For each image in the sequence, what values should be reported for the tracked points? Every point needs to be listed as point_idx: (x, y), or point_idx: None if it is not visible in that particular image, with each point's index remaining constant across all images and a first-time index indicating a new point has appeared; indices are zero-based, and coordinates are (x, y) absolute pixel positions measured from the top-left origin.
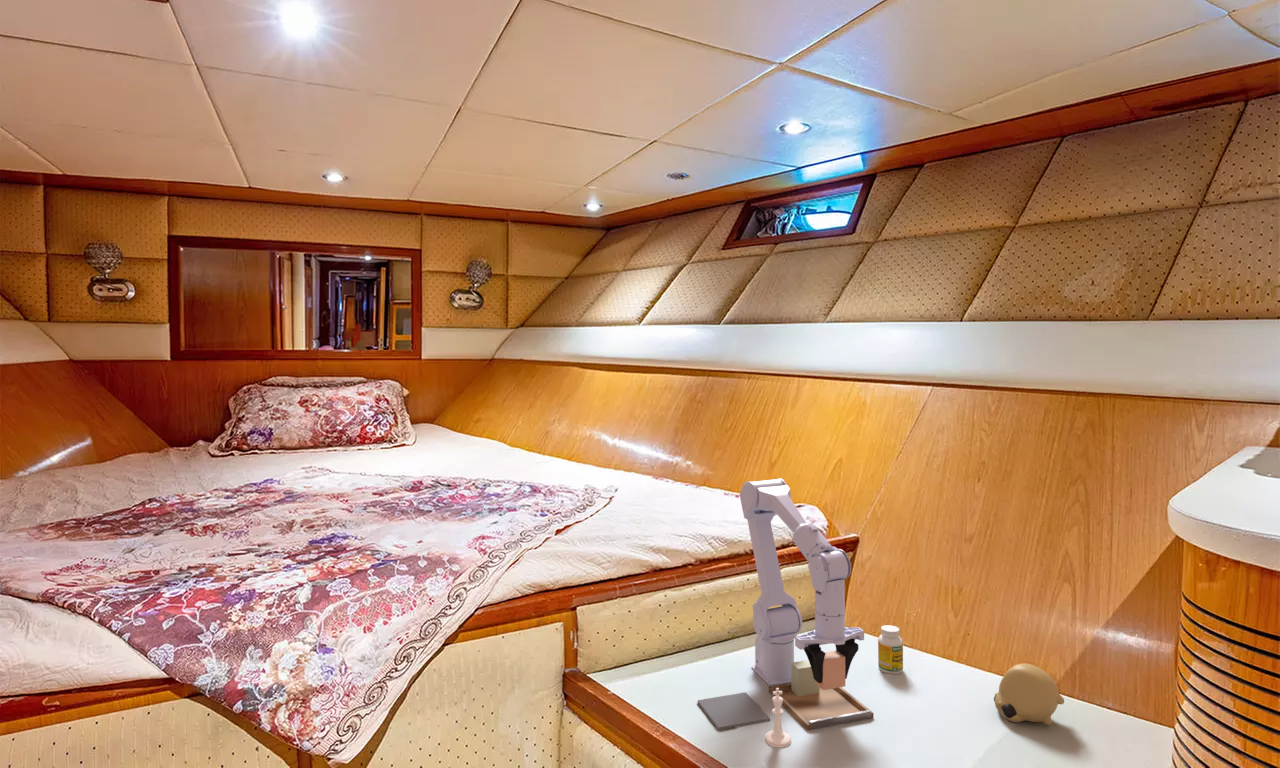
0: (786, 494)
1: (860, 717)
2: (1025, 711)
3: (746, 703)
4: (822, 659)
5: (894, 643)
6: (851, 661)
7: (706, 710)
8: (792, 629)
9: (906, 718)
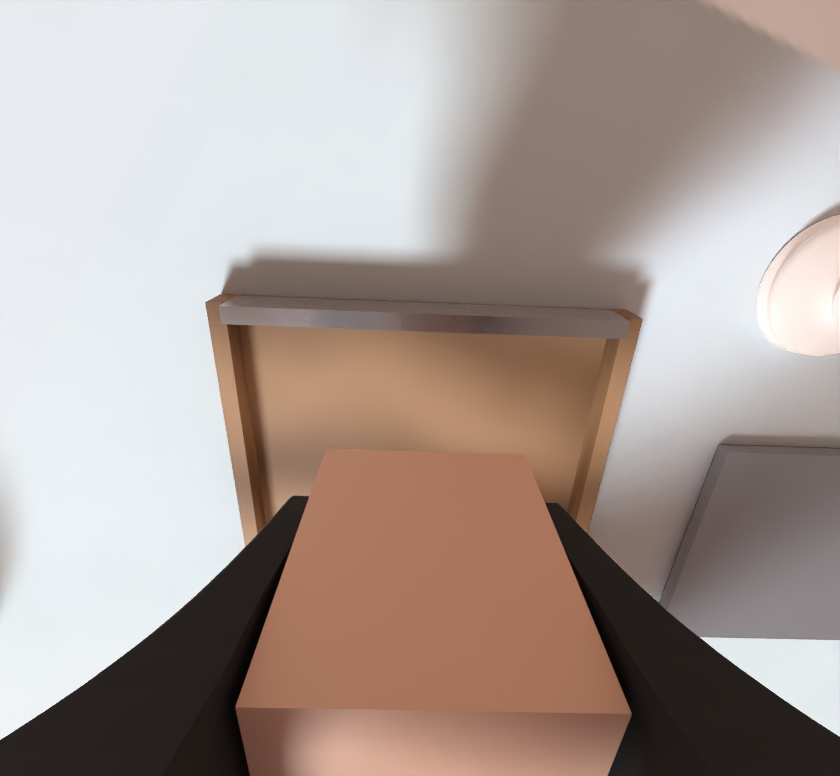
0: None
1: (299, 301)
2: None
3: (721, 574)
4: (710, 726)
5: None
6: (172, 617)
7: None
8: None
9: (23, 233)
